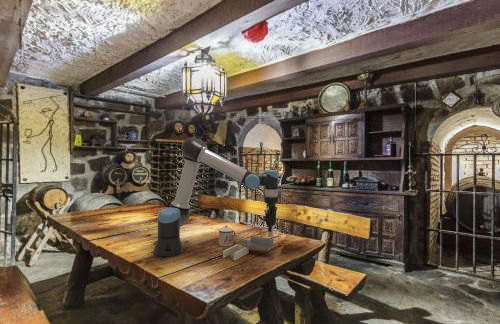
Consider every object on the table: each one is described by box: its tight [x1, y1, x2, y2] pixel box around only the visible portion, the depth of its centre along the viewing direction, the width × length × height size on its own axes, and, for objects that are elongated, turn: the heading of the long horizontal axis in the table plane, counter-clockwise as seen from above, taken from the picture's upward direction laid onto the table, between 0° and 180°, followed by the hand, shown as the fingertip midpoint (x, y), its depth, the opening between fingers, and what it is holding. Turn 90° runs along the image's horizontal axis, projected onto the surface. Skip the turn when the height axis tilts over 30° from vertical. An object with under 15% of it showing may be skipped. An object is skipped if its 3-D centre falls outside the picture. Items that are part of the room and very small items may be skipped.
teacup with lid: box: [218, 224, 237, 247], centre depth 168 cm, size 12×9×12 cm
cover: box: [241, 234, 275, 252], centre depth 153 cm, size 9×18×4 cm, turn 61°
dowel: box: [228, 249, 242, 260], centre depth 147 cm, size 9×3×3 cm
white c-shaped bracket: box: [222, 243, 250, 261], centre depth 150 cm, size 8×17×4 cm, turn 151°
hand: (270, 236), depth 160 cm, fingers closed
